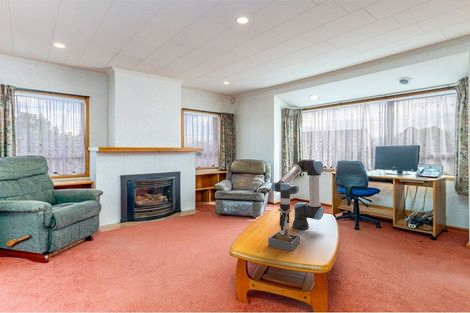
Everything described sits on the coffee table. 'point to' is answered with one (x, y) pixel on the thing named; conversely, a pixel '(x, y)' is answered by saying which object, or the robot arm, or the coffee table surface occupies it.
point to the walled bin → (284, 242)
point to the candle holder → (286, 236)
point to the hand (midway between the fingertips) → (284, 232)
